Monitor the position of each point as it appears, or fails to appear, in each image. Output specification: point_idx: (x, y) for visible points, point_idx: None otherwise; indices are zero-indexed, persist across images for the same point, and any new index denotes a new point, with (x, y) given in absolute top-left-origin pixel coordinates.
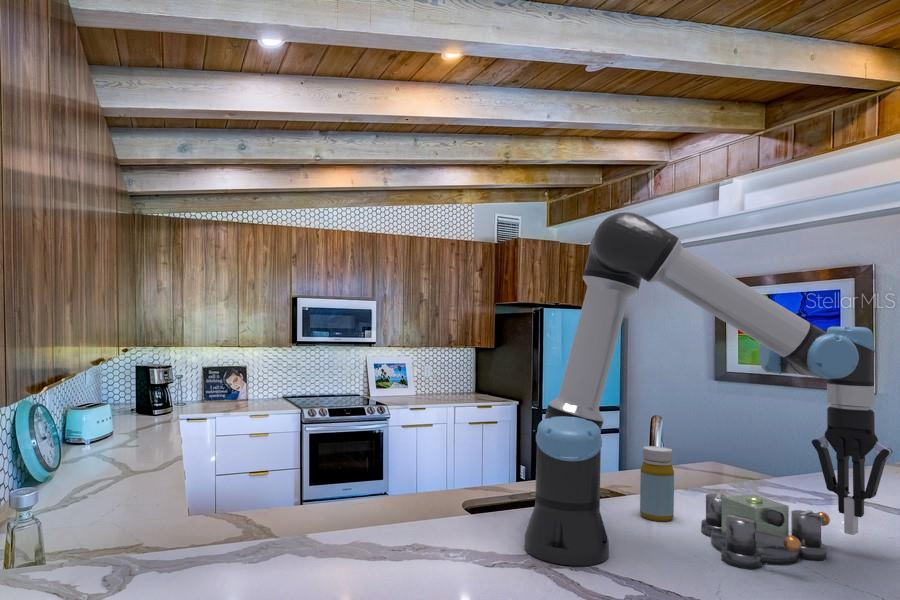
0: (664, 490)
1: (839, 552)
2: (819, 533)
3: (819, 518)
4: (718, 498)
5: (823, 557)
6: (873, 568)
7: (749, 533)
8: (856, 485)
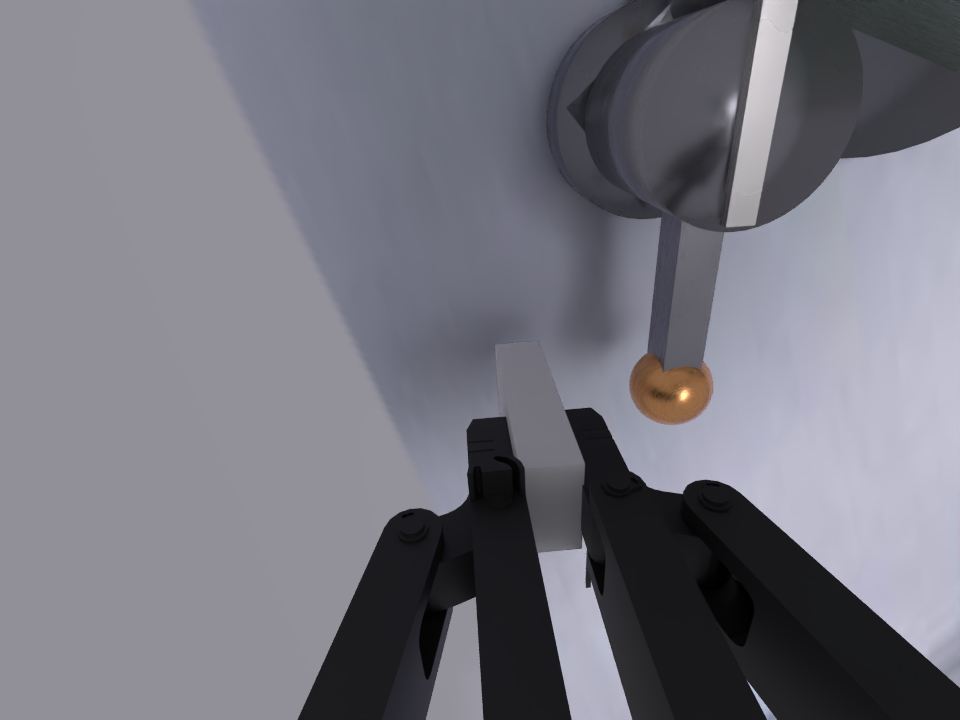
0: None
1: (544, 305)
2: (608, 106)
3: (643, 110)
4: None
5: (552, 97)
6: (370, 216)
7: None
8: (510, 579)
